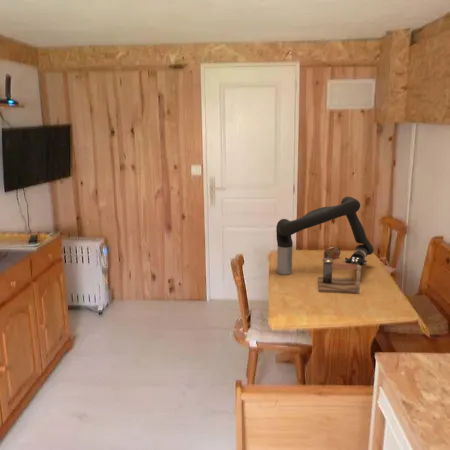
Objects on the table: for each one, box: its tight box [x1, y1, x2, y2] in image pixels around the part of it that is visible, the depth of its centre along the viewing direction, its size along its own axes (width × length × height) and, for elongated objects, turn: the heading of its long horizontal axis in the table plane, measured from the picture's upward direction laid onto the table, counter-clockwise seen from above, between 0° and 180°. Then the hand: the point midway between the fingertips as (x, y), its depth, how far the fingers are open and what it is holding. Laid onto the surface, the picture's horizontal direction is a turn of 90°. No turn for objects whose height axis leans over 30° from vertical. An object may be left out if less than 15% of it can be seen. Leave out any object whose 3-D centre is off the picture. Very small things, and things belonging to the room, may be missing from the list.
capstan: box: [322, 257, 359, 283], centre depth 261 cm, size 20×6×13 cm, turn 78°
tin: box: [323, 245, 341, 261], centre depth 308 cm, size 15×3×8 cm, turn 129°
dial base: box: [317, 265, 362, 295], centre depth 260 cm, size 20×22×16 cm
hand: (352, 265), depth 261 cm, fingers closed
